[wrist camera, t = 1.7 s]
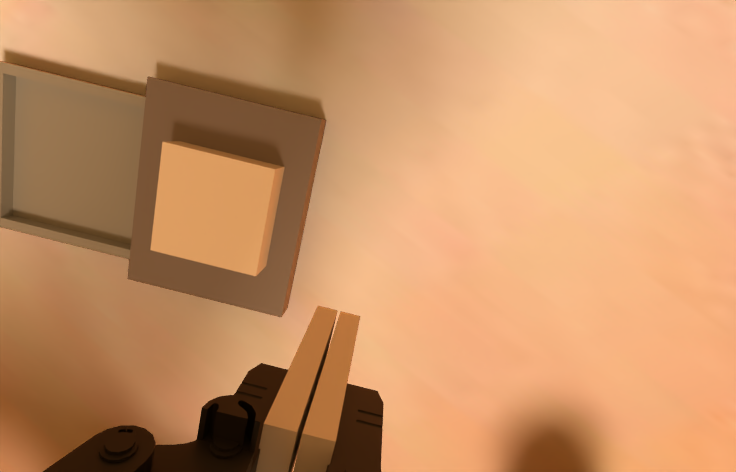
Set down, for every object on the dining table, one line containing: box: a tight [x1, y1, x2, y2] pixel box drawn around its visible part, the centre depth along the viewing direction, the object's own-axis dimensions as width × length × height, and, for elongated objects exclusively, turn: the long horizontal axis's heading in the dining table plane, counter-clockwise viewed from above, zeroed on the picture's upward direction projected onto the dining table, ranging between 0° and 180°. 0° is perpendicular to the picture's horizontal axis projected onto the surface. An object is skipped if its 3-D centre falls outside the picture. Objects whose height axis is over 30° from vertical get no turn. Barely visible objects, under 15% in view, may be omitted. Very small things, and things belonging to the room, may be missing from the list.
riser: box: [128, 77, 326, 317], centre depth 32 cm, size 16×13×2 cm
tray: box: [0, 61, 146, 259], centre depth 33 cm, size 13×12×2 cm
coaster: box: [150, 141, 285, 276], centre depth 30 cm, size 8×8×2 cm
